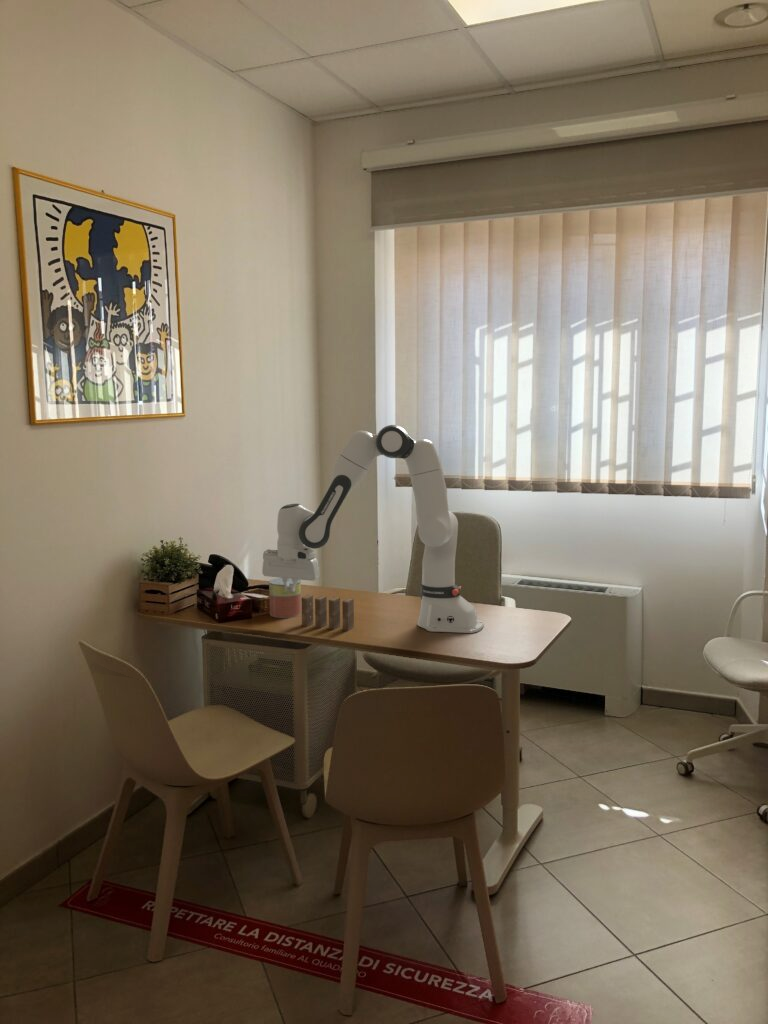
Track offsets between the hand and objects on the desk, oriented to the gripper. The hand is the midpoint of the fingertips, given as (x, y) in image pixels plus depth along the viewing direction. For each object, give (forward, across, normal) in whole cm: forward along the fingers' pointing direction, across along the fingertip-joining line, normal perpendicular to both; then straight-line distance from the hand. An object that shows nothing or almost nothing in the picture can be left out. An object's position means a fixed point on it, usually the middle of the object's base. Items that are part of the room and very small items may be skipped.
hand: (290, 590), depth 294 cm
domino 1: (+11, +7, 0) cm, 13 cm away
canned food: (+12, -7, +11) cm, 18 cm away
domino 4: (+11, +22, 0) cm, 24 cm away
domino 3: (+11, +17, 0) cm, 20 cm away
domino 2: (+11, +12, 0) cm, 16 cm away
